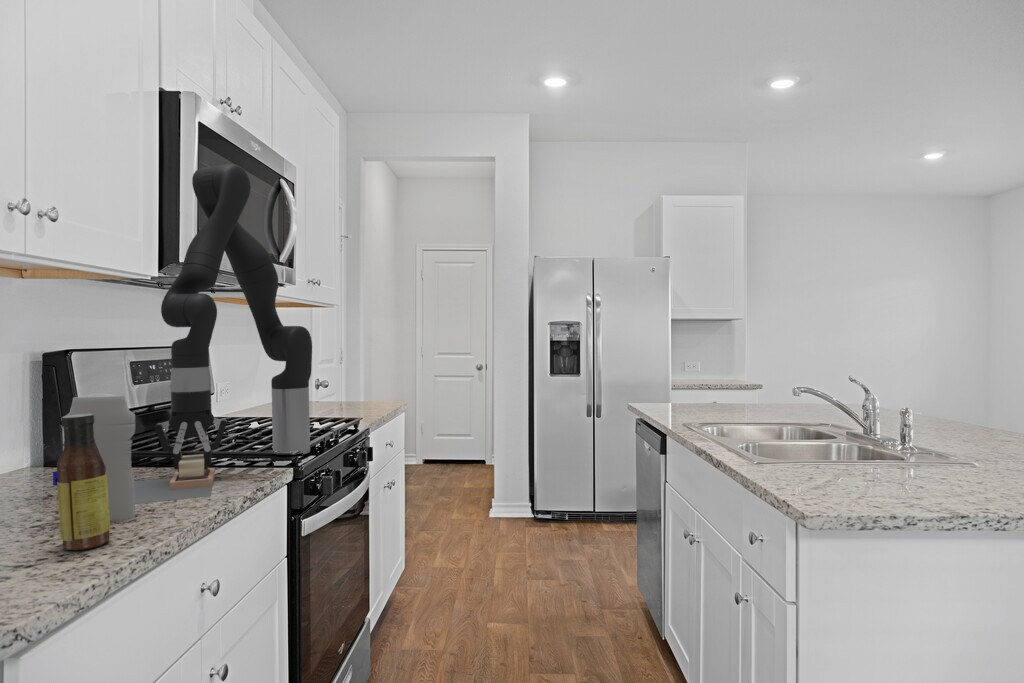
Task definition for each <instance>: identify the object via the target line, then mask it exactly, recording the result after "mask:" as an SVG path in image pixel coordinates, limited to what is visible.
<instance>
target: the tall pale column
mask: <svg viewBox="0 0 1024 683" xmlns="http://www.w3.org/2000/svg"><path fill="white" fill-rule="evenodd" d="M126 400H127V398H126V396H125V395H116V394H109V393H103V392H102V393H99V392H98V393H93V394H87V395H83V396H75V397H72V402H71V406H70V410H69V413H67V414H66V415H65V416H68V415H75V414H93V415H94V421H95V422H94V424H93V428H94V429H93V430H94V439H95V443H96V445H97V448H98V450H99V453H100V455H101V457H102V460H103V462H104V464H105V466H106V473H107V487H108V500H109V515H110V523H111V522H117V521H125V520H130V519H131V520H132V519H135V518H136V511H135V510H136V508H135V505H136V504H135V495H134V481H135V478H134V476H133V473H132V470H131V468H132V467H133V466H132V451H131V450H132V445H131V444H133V440H132V437H133V436H134V435H135V433H136V414H135V413H134V412H133V411H131V410H130V409H129V406H128V403H127V401H126Z"/></svg>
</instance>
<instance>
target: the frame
mask: <svg viewBox="0 0 1024 683" xmlns="http://www.w3.org/2000/svg"><path fill="white" fill-rule="evenodd" d="M215 471H216V470H215V467H208V469H206V470H205V473H204V476H208V478H206V479H195V480H185V481H179V479H180V478H179V472H178V471H177V470H175V472H174V474H173V476H172V477H171V478H172V479H171V481H170V490H177V489H187V488H197V487H208V486H212V483H213V479H214V476H215V474H216V473H215ZM193 477H202V476H193ZM215 477H216V476H215ZM181 478H191V477H181Z"/></svg>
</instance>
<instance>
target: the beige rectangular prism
mask: <svg viewBox="0 0 1024 683" xmlns="http://www.w3.org/2000/svg"><path fill="white" fill-rule="evenodd" d="M205 470H206V469H205V468H204V454H203V453H202V454H201V453H200V454H188V455H182V459H181V460H180V462H179V478H181V477H193V476H204V473H205Z"/></svg>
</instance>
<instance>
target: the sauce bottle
mask: <svg viewBox="0 0 1024 683" xmlns="http://www.w3.org/2000/svg"><path fill="white" fill-rule="evenodd" d="M94 422H95V421H94V415H93V414H75V415H68V416H66V415H64V416H62V417H61V425H62V426H63V427H64V439H65V441H64V446H65V447H64V450H63V449H62V453H61V455H59V456H60V458H59V457H58V460H57V462H56V471H57V475H58V481H57V498H58V499H57V500H58V501H57V502H58V514H59V516H58V517H59V528H60V540H62V547H63V549H64V550H67V551H74V552H75V551H76V552H77V551H83V550H90V549H94V548H97V547H100V546H102V545H105V544H107V543H108V542H109V541H110V535H111V534H110V530H111V522H110V515H109V500H108V487H107V473H106V466H105V464H104V462H103V460H102V457H101V455H100V453H99V450H98V448H97V445H96V443H95V439H94V430H93V429H94V428H93V424H94ZM62 426H61V427H62Z"/></svg>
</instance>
